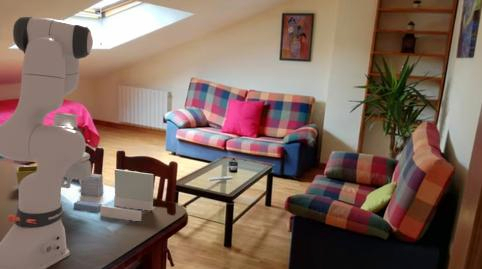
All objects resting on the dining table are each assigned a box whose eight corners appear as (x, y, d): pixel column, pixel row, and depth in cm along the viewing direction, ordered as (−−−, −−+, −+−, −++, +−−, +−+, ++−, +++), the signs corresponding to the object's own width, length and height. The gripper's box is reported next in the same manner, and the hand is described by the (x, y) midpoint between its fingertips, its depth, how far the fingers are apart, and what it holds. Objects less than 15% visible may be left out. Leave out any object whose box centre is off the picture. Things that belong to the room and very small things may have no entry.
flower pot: (18, 186, 171) (18, 166, 169) (40, 184, 175) (40, 165, 173) (16, 192, 163) (16, 172, 162) (40, 191, 167) (39, 171, 165)
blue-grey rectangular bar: (97, 212, 151) (97, 206, 151) (73, 208, 153) (73, 203, 152) (101, 209, 154) (101, 204, 154) (78, 206, 156) (78, 200, 155)
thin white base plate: (140, 222, 145) (140, 212, 144) (100, 216, 147) (100, 206, 147) (152, 210, 157) (152, 201, 156) (115, 205, 159) (115, 195, 158)
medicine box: (102, 193, 171) (103, 174, 169) (98, 197, 167) (98, 177, 165) (85, 191, 172) (85, 172, 170) (80, 194, 167) (80, 175, 166)
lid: (152, 174, 153) (153, 174, 153) (114, 169, 155) (115, 169, 156) (152, 201, 156) (153, 200, 156) (115, 196, 158) (115, 195, 159)
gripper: (35, 152, 150) (36, 186, 153) (84, 159, 147) (84, 193, 150) (46, 148, 156) (47, 181, 159) (93, 155, 153) (93, 188, 156)
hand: (65, 187), depth 154 cm, fingers closed
